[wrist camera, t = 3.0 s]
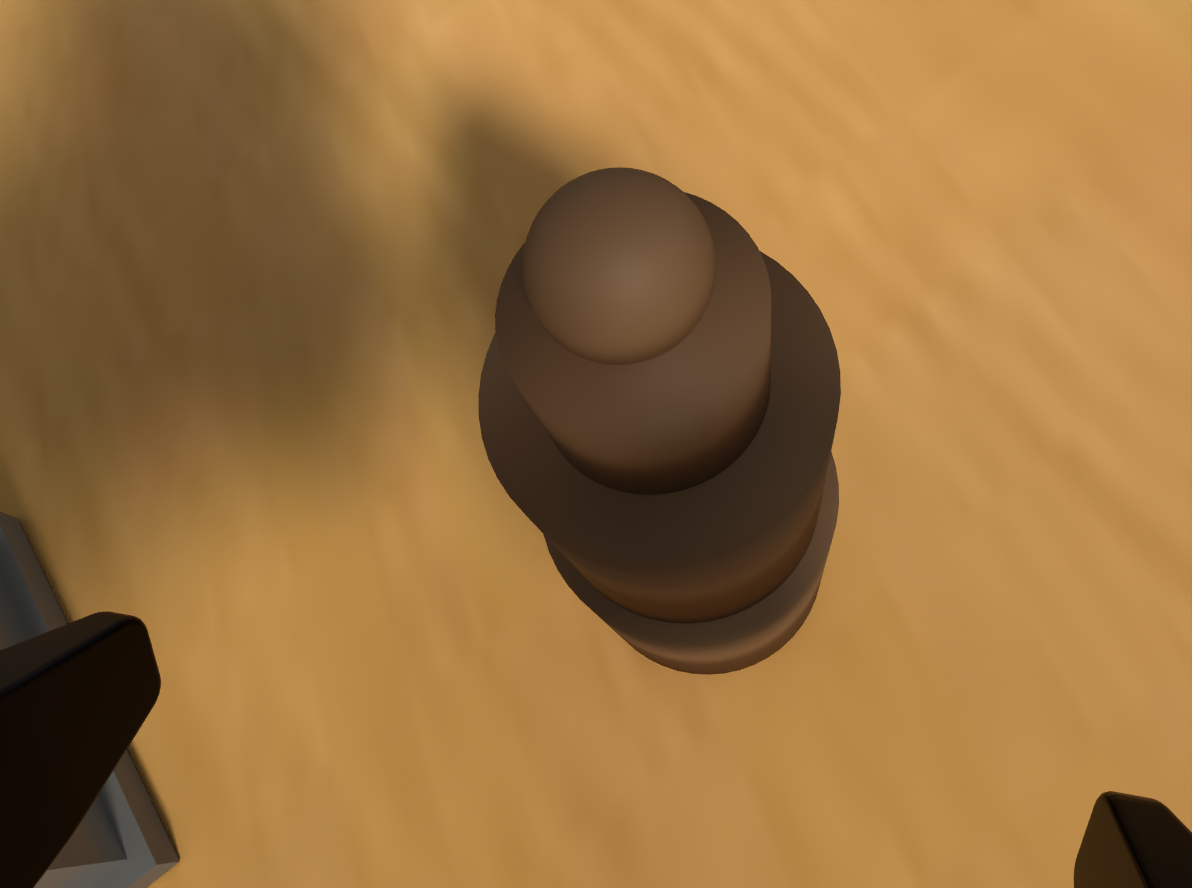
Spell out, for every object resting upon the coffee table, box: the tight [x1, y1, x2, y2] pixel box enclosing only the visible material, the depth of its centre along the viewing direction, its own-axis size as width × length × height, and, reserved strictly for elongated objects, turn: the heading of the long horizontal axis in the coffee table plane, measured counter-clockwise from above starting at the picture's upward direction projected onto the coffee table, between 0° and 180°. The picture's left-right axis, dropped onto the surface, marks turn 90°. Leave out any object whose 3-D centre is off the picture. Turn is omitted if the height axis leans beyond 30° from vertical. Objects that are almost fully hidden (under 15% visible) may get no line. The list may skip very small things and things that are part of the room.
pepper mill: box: [479, 168, 841, 674], centre depth 14 cm, size 5×5×13 cm
